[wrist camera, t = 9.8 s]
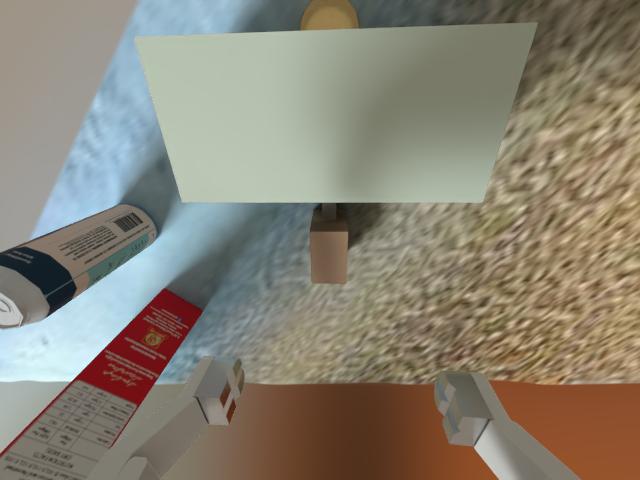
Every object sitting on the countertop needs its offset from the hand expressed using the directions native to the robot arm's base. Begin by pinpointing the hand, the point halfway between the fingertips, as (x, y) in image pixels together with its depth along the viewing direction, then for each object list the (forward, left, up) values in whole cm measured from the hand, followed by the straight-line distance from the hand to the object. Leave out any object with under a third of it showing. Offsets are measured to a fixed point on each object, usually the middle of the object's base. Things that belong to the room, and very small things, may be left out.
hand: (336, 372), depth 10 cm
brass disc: (+1, -14, -16) cm, 21 cm away
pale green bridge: (+1, -9, -15) cm, 18 cm away
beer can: (+21, 0, -16) cm, 26 cm away
